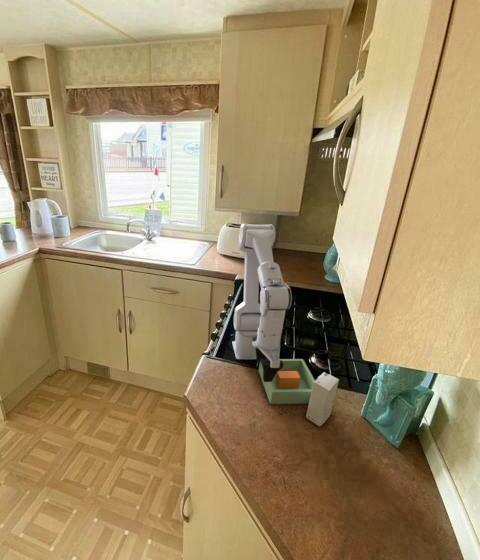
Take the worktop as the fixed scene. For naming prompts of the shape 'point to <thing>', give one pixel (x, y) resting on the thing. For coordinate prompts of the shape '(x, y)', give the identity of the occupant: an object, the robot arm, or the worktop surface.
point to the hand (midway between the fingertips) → (263, 370)
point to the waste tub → (290, 394)
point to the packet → (287, 379)
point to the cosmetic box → (322, 398)
